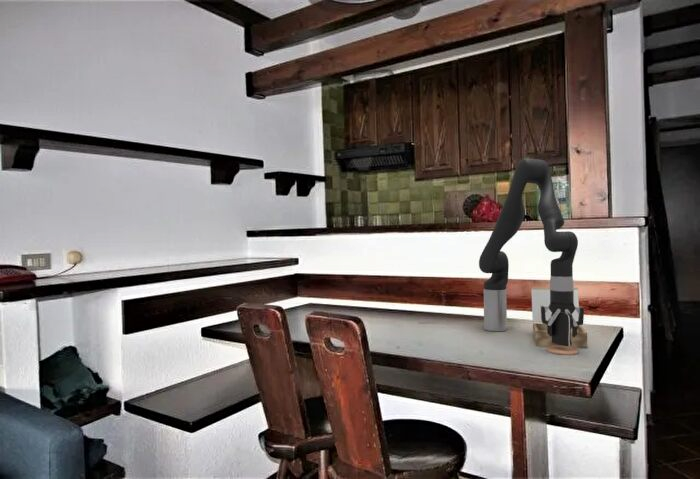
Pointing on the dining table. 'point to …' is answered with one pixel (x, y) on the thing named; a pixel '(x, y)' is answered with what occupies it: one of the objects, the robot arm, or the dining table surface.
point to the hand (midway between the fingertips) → (562, 336)
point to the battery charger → (562, 329)
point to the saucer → (562, 350)
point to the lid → (547, 303)
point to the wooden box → (546, 340)
